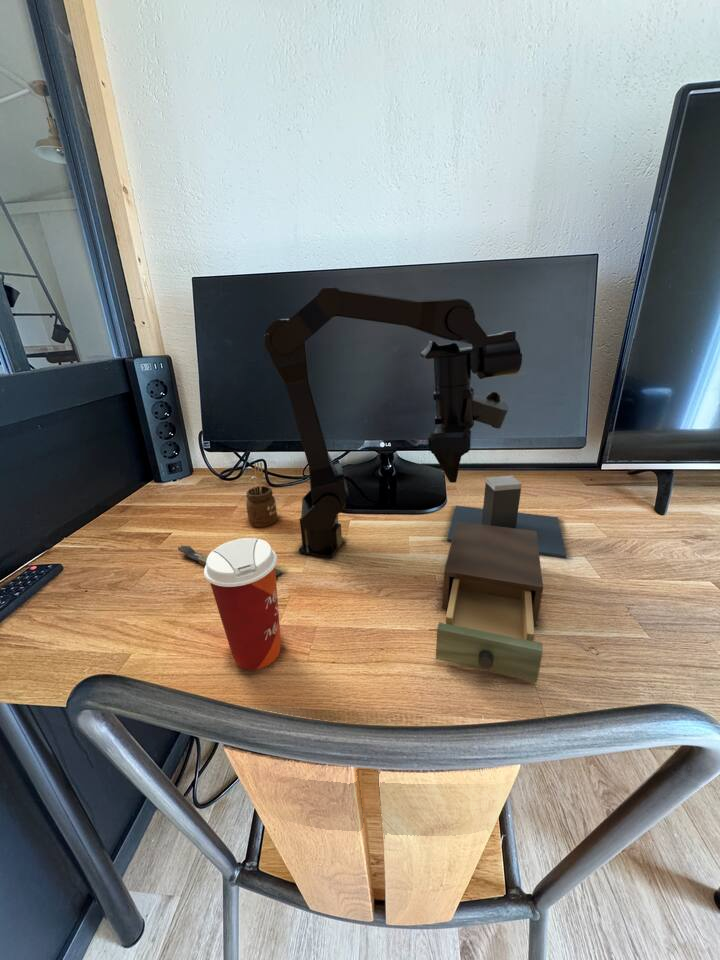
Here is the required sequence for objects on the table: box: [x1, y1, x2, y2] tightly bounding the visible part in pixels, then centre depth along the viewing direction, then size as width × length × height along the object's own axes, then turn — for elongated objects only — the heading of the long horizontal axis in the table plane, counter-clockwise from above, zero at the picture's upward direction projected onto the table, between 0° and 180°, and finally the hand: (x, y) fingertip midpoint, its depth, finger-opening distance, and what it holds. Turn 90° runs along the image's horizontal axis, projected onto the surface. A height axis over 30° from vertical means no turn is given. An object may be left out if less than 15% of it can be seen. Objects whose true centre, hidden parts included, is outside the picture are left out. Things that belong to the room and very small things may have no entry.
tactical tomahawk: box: [177, 545, 283, 577], centre depth 70 cm, size 21×7×1 cm, turn 57°
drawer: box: [435, 577, 544, 683], centre depth 51 cm, size 15×11×5 cm
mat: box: [446, 505, 567, 559], centre depth 77 cm, size 20×14×1 cm
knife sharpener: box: [482, 475, 523, 529], centre depth 75 cm, size 5×4×10 cm
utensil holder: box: [245, 461, 278, 528], centre depth 82 cm, size 6×6×12 cm
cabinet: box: [441, 521, 544, 627], centre depth 61 cm, size 15×13×7 cm
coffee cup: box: [203, 537, 282, 671], centre depth 49 cm, size 8×8×15 cm
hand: (455, 471), depth 71 cm, fingers open, 9 cm apart
